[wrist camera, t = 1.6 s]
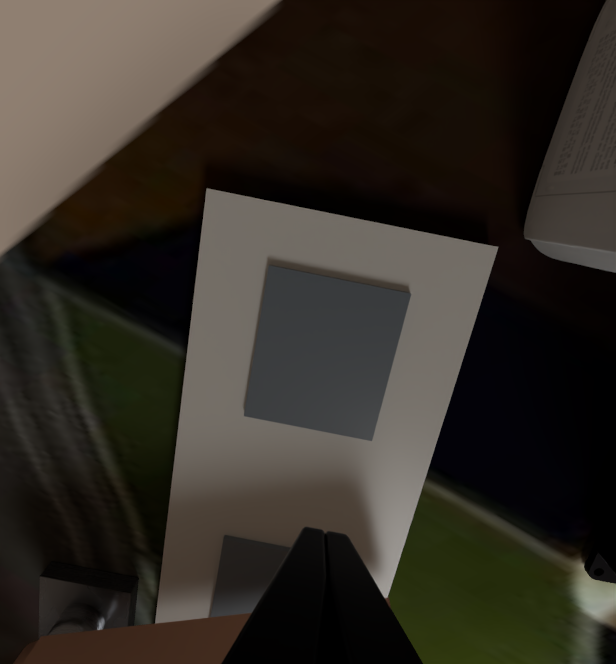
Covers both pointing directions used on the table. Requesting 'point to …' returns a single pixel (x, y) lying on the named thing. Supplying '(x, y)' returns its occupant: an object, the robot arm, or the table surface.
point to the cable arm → (142, 643)
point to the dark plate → (84, 600)
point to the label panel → (308, 392)
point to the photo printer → (582, 162)
